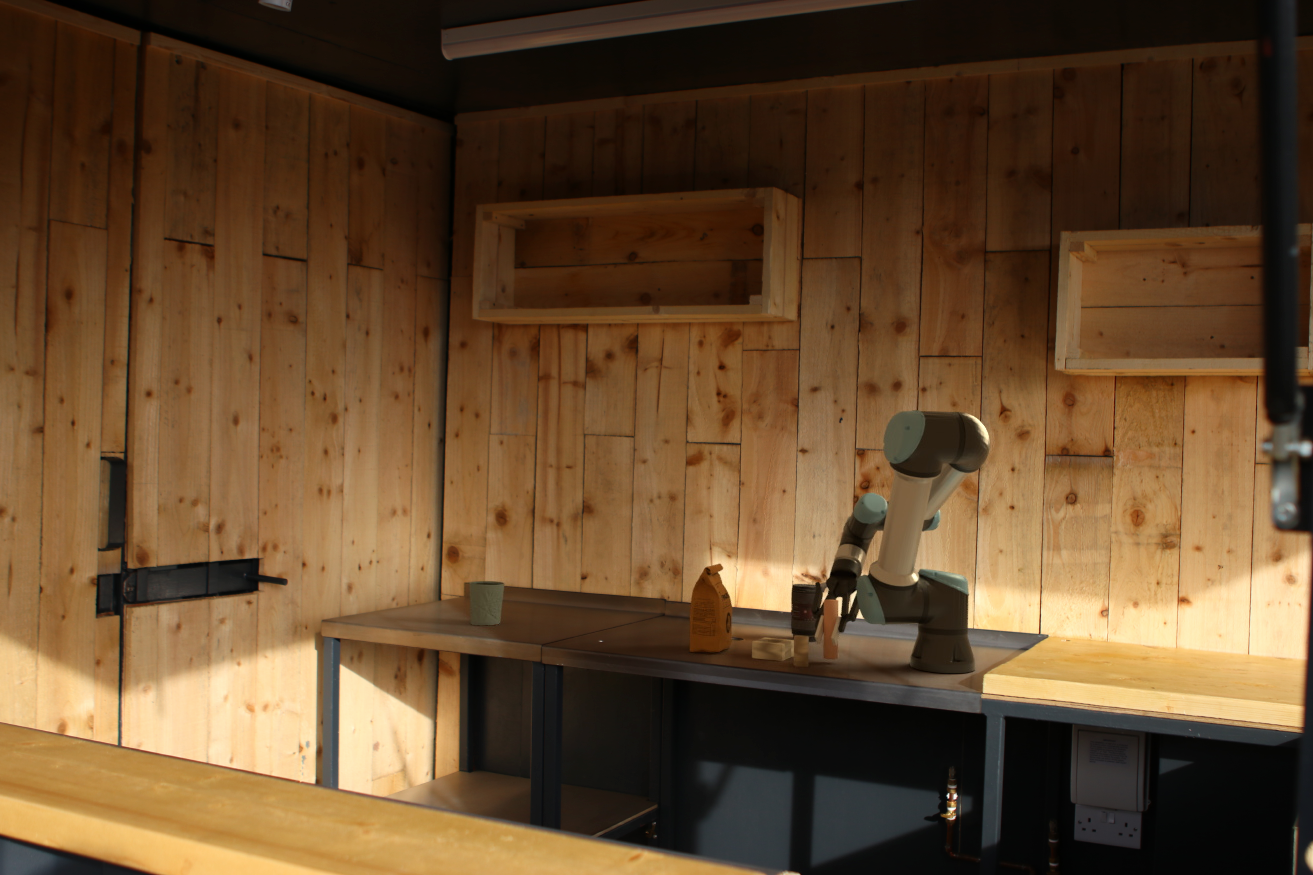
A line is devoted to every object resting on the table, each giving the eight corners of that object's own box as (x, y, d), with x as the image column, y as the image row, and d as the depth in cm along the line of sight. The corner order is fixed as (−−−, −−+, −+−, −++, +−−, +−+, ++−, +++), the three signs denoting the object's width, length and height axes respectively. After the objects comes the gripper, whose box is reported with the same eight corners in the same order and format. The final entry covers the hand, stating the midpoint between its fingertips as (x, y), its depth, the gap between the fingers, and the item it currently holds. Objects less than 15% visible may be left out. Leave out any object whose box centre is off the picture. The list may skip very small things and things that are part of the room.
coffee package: (738, 648, 290) (739, 563, 290) (719, 656, 278) (721, 568, 279) (702, 645, 294) (704, 561, 294) (683, 652, 283) (684, 565, 283)
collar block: (793, 656, 280) (793, 640, 280) (782, 660, 273) (782, 644, 273) (764, 652, 284) (764, 637, 284) (752, 657, 277) (752, 641, 277)
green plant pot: (463, 622, 326) (463, 581, 326) (494, 620, 331) (495, 579, 331) (477, 627, 317) (478, 585, 317) (509, 624, 323) (510, 583, 323)
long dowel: (839, 657, 272) (840, 600, 272) (835, 659, 269) (835, 601, 269) (826, 656, 274) (826, 599, 274) (821, 658, 271) (821, 600, 271)
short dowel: (810, 665, 268) (810, 636, 268) (805, 667, 265) (805, 638, 265) (796, 663, 270) (797, 634, 270) (791, 666, 267) (791, 636, 267)
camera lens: (819, 642, 300) (820, 587, 300) (789, 641, 302) (790, 586, 302) (821, 638, 308) (822, 583, 308) (792, 636, 310) (792, 582, 310)
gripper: (882, 578, 281) (862, 653, 266) (820, 574, 289) (796, 647, 274) (876, 558, 277) (855, 634, 262) (813, 555, 285) (789, 628, 270)
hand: (825, 640), depth 268 cm, fingers closed on long dowel, 3 cm apart
